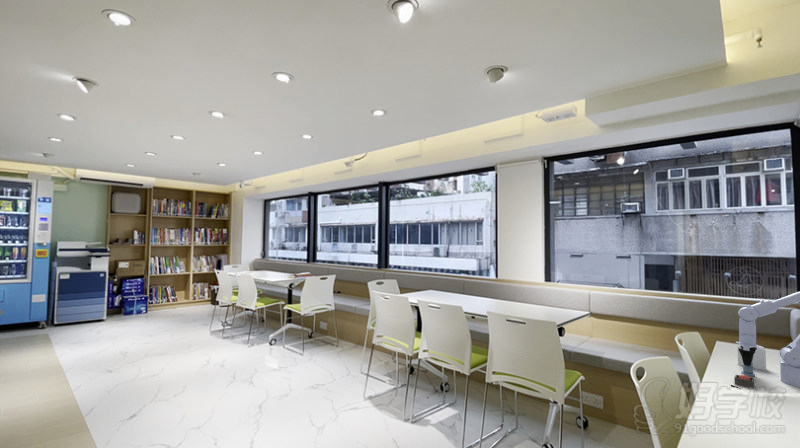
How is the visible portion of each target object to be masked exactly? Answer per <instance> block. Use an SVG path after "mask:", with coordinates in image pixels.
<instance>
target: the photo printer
mask: <svg viewBox="0 0 800 448" xmlns="http://www.w3.org/2000/svg"><path fill="white" fill-rule="evenodd" d="M756 345H757V347H756V348H757V349H756V351H755V353H754V355H753V360H752V363H753V365H752V366H753V369H756V370H757V369H758V370H762V371H767V358H766V357H767V356H766V354H767V353H766V349H765V347H764V346H762V345H759V344H756ZM740 346H741V345H740V344H738V345H737V364H738V366H742V367H743V360H742V356H741V354H740V352H739V350H738V348H741V347H740ZM741 349H742V348H741Z"/></svg>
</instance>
